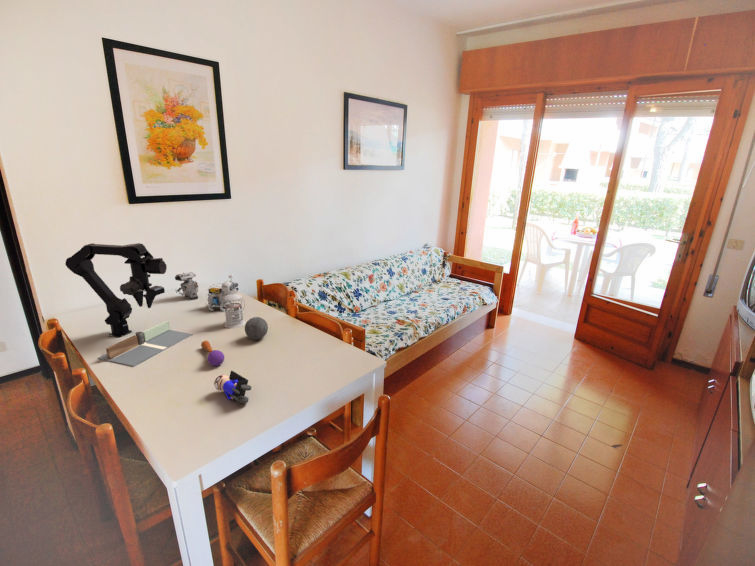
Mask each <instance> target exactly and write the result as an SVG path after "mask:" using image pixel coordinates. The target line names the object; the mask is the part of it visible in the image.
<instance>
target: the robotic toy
mask: <svg viewBox="0 0 755 566" xmlns="http://www.w3.org/2000/svg"><path fill="white" fill-rule="evenodd" d="M218 284H221V287H220V286H217V285H216V284H214V283H213V285H210V287H209V288H208V289H207V291H208V293H207V294H206V297H205V299H207V303H205V304H206V305H207V306H208V310H209V311H210V312H211V311H213V312H214V311H215V309H214V308H216V307H219V309H220V311H222V312H225V308H224V307H226V305H227V304H230V303H233V301H226V300H224V297H225V296H227V295H229V294H232V291H233V294H237V293H238V292H239V282H234V281H232V285H231V280H226V281H224V282H223V283H221V282H220V283H218ZM215 285H216V286H215ZM214 286H215V287H214ZM217 287H218V288H217ZM212 306H213V307H214V308H213V307H212Z"/></svg>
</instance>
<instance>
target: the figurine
mask: <svg viewBox="0 0 755 566" xmlns="http://www.w3.org/2000/svg"><path fill="white" fill-rule="evenodd" d="M196 276H197V274H196V273H195V272H192V271H190V272H183V273H178V274H175V276H174V279H175V281H179V282H181V283H180V284H179V285H180V287H179V288H178V289H175V292H176V294H177V293H178V294H179V295H181V296H185V297H189V300H191V301H193V300H197V299H199V296H198V292H199V285H198V282H197V281H195V280H193V278H194V277H196ZM181 290H182V292H181Z"/></svg>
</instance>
